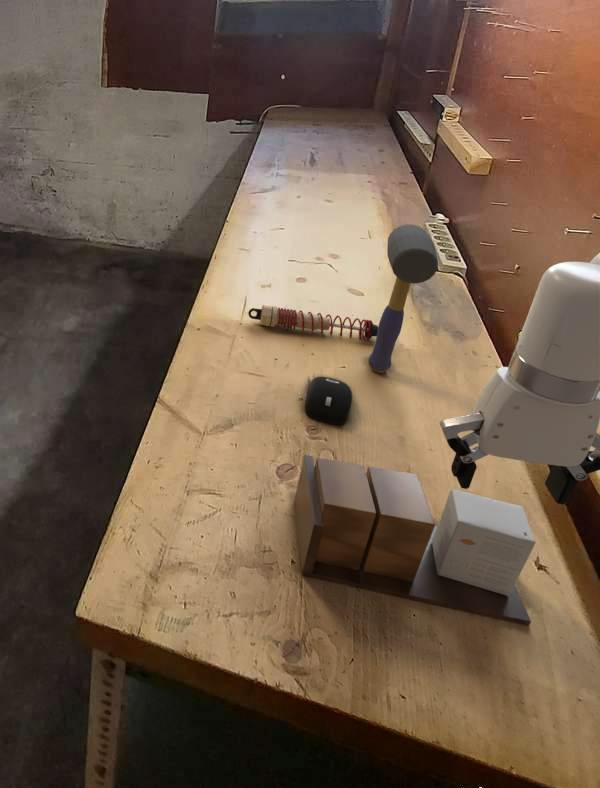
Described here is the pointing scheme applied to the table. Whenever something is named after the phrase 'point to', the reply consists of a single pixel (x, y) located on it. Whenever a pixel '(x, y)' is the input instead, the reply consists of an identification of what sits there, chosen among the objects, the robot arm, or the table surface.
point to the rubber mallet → (402, 286)
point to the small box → (482, 541)
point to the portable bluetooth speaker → (328, 400)
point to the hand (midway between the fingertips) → (506, 487)
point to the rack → (381, 538)
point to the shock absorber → (309, 321)
